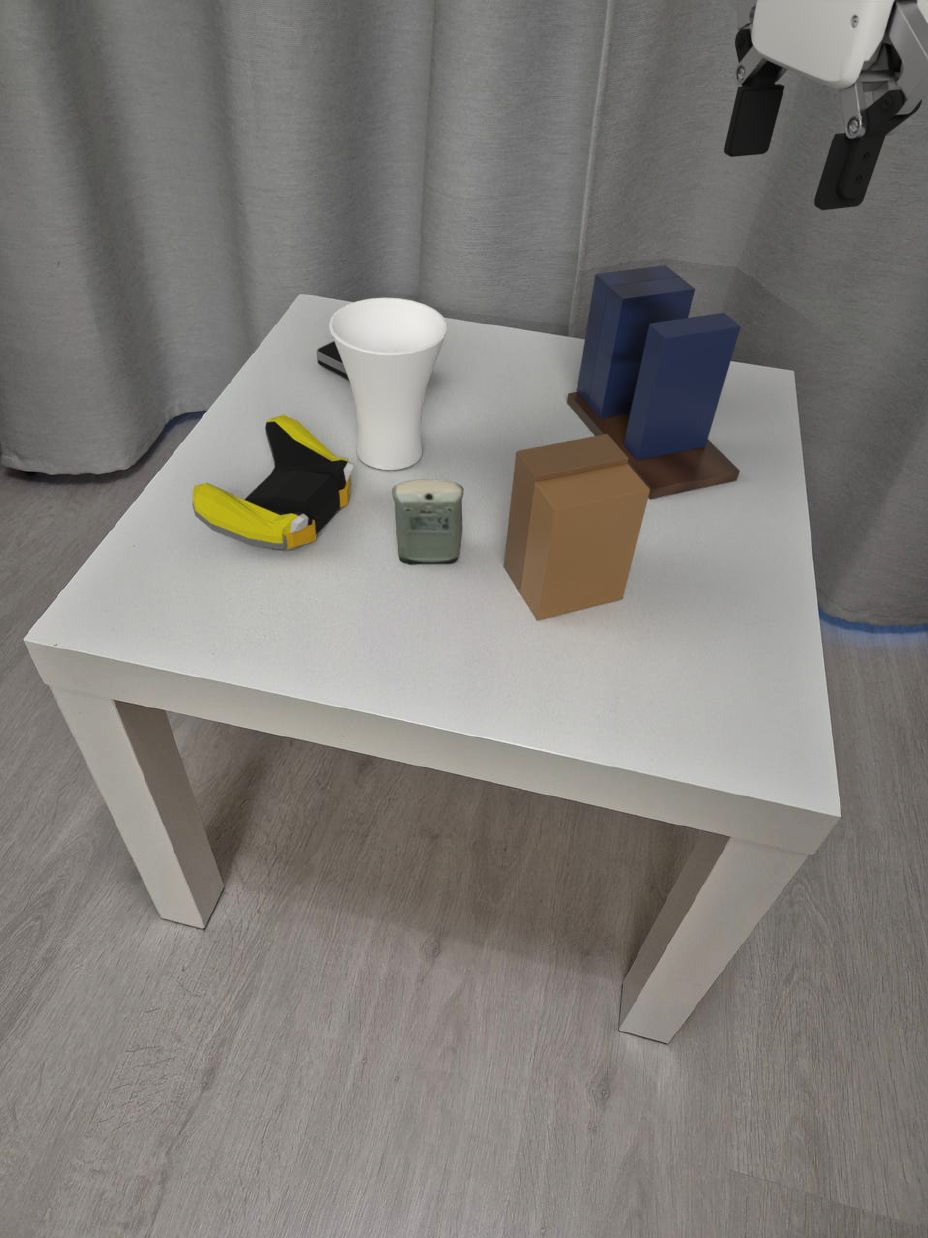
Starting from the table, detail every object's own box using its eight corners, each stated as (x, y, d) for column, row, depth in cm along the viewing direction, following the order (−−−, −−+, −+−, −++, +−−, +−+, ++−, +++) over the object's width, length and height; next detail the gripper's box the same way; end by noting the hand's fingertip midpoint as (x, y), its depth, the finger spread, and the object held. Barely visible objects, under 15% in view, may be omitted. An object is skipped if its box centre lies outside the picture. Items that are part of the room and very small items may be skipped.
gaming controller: (189, 542, 76) (288, 577, 74) (177, 491, 72) (282, 526, 70) (281, 453, 86) (372, 482, 84) (275, 404, 82) (370, 432, 80)
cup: (449, 480, 84) (455, 351, 75) (339, 486, 83) (331, 355, 73) (435, 420, 92) (439, 295, 82) (333, 424, 90) (326, 298, 80)
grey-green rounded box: (414, 586, 74) (415, 511, 68) (381, 552, 77) (380, 477, 71) (469, 562, 76) (474, 488, 71) (435, 529, 79) (438, 455, 73)
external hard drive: (358, 344, 102) (358, 328, 101) (430, 379, 97) (431, 362, 96) (315, 366, 98) (314, 350, 97) (388, 403, 93) (388, 386, 92)
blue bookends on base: (646, 388, 98) (674, 263, 88) (737, 480, 87) (781, 348, 77) (566, 402, 95) (586, 274, 85) (649, 499, 84) (683, 365, 74)
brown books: (585, 547, 78) (607, 433, 70) (622, 599, 74) (651, 484, 65) (503, 566, 76) (516, 450, 68) (537, 621, 72) (555, 504, 63)
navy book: (691, 431, 90) (724, 312, 81) (705, 446, 89) (741, 326, 79) (623, 445, 88) (649, 323, 79) (636, 460, 86) (665, 337, 77)
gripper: (1090, -173, 39) (930, 223, 51) (842, -196, 50) (759, 133, 62) (958, -178, 37) (824, 237, 49) (731, -201, 48) (667, 140, 60)
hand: (788, 178), depth 56 cm, fingers open, 9 cm apart
